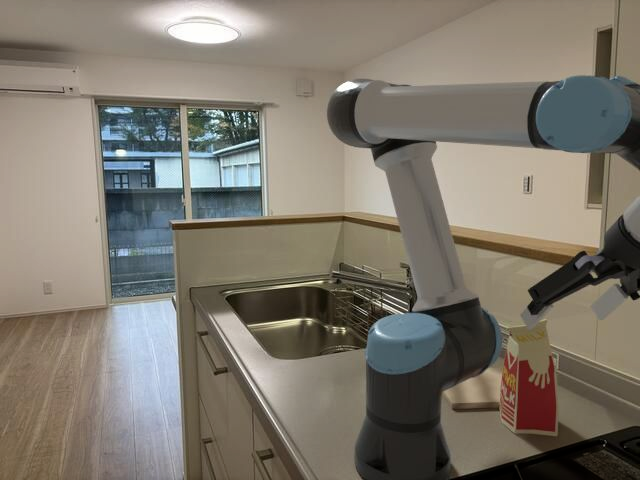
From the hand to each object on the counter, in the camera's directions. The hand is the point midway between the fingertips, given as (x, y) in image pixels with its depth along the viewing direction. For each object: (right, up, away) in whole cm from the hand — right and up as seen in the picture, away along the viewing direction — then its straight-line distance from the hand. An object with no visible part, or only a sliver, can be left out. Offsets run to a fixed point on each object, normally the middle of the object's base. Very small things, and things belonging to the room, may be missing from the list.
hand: (562, 317), depth 77 cm
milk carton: (-1, -22, +12) cm, 25 cm away
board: (-5, -19, +25) cm, 32 cm away
